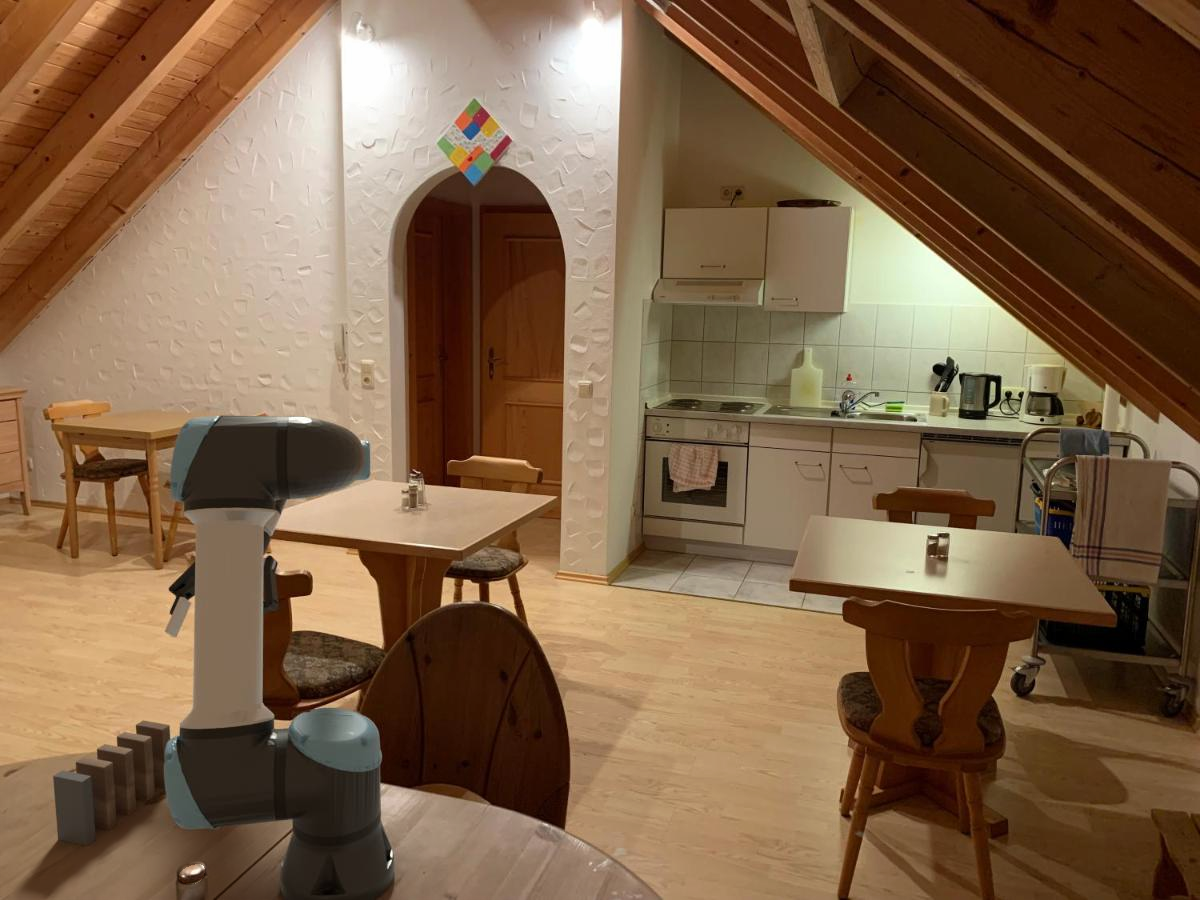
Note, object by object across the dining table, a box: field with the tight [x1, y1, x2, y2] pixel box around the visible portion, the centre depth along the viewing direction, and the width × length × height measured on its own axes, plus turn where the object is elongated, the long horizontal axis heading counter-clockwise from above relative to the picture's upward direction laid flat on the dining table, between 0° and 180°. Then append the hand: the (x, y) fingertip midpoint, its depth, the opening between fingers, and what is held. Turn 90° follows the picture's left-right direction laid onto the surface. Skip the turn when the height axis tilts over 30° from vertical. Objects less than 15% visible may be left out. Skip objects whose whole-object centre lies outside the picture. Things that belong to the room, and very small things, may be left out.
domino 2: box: [75, 756, 117, 831], centre depth 134 cm, size 2×5×10 cm, turn 76°
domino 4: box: [116, 731, 156, 802], centre depth 142 cm, size 2×5×10 cm, turn 76°
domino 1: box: [52, 769, 96, 847], centre depth 130 cm, size 2×5×10 cm, turn 76°
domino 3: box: [96, 743, 137, 816], centre depth 138 cm, size 2×5×10 cm, turn 76°
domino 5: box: [135, 719, 171, 788], centre depth 145 cm, size 2×5×10 cm, turn 76°
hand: (205, 640), depth 156 cm, fingers open, 13 cm apart
